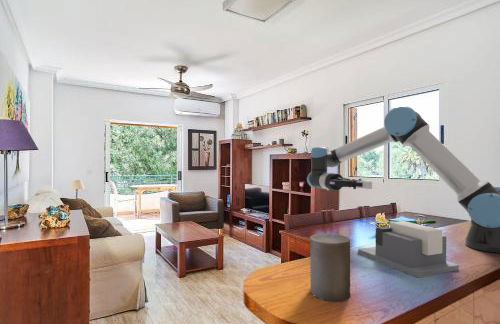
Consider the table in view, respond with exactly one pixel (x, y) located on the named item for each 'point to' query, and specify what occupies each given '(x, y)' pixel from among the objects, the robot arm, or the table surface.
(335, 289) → the pillar candle
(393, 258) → the guide
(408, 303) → the table surface
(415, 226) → the peg
